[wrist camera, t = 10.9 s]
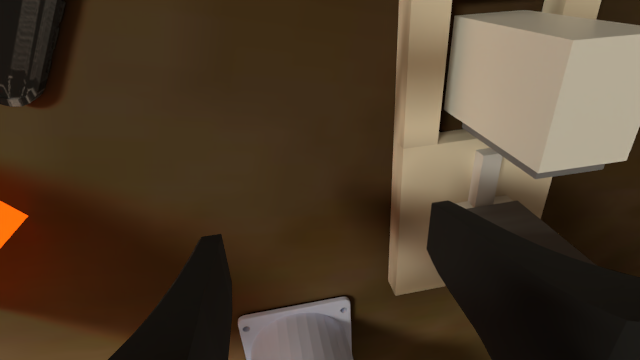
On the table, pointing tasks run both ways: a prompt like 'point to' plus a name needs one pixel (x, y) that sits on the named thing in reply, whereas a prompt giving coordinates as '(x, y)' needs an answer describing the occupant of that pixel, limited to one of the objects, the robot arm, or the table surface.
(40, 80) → the phone
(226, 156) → the table surface
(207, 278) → the robot arm
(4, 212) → the orange juice
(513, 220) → the beige piece
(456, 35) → the off-white rectangular block
